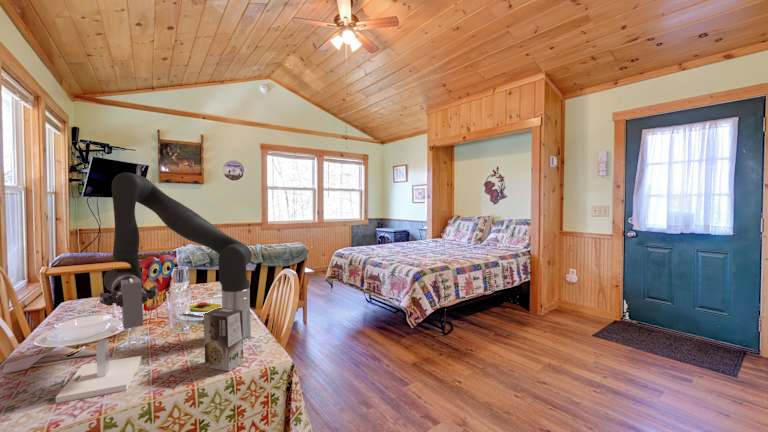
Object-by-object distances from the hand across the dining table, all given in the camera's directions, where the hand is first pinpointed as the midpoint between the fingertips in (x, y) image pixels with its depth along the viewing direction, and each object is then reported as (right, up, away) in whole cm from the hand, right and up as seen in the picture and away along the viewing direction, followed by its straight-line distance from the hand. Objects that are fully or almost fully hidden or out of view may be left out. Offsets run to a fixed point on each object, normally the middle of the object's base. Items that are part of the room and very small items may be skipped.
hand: (132, 301), depth 93 cm
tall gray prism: (-2, -7, +2) cm, 8 cm away
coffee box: (+19, -22, +11) cm, 31 cm away
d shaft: (-9, -20, +2) cm, 22 cm away
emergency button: (-11, -20, +58) cm, 62 cm away
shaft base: (-9, -22, +2) cm, 24 cm away
